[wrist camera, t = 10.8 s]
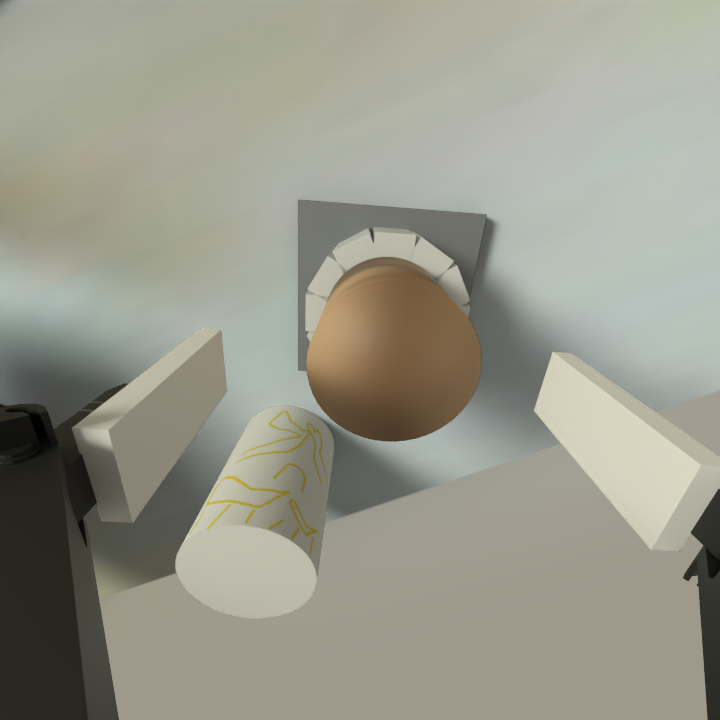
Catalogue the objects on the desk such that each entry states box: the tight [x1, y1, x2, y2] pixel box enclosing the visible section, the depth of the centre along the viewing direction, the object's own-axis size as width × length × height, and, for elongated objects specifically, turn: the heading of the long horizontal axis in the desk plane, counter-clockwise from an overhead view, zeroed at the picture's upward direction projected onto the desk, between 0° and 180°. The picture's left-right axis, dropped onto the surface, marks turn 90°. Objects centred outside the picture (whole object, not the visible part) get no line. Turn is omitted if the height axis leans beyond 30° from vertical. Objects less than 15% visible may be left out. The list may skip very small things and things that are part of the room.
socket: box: [298, 200, 487, 371], centre depth 23 cm, size 12×12×6 cm
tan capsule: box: [307, 257, 482, 441], centre depth 19 cm, size 7×7×11 cm
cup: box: [175, 406, 335, 619], centre depth 26 cm, size 8×8×12 cm
